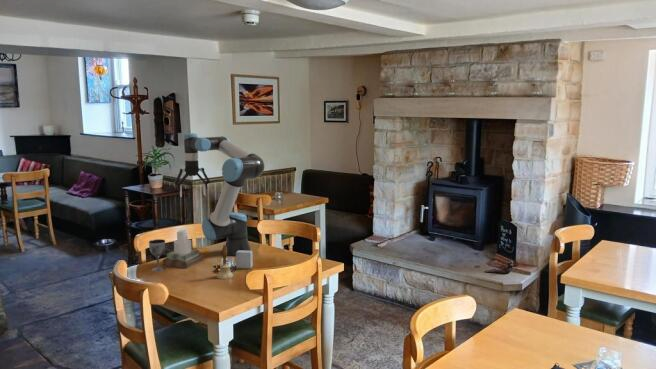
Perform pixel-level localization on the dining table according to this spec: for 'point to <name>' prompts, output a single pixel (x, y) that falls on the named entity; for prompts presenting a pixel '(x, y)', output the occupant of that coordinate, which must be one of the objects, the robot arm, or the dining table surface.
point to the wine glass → (157, 251)
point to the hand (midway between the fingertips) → (192, 195)
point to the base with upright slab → (182, 242)
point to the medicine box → (244, 259)
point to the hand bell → (224, 266)
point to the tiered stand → (183, 259)
